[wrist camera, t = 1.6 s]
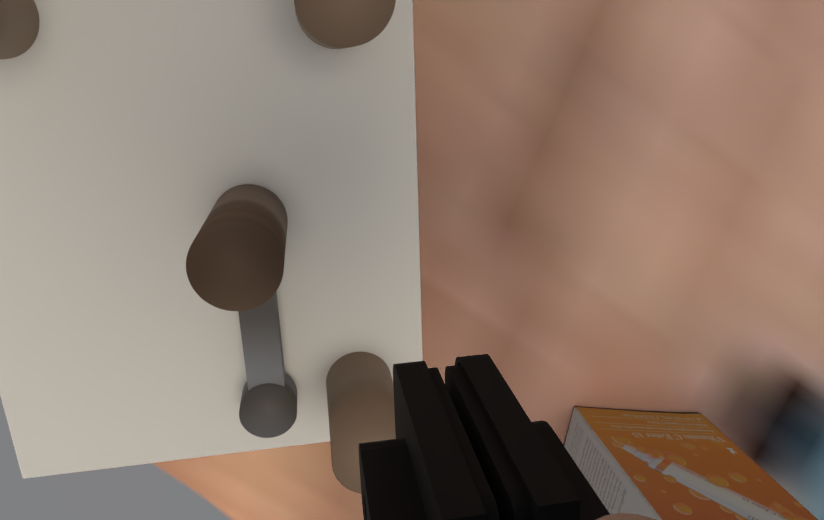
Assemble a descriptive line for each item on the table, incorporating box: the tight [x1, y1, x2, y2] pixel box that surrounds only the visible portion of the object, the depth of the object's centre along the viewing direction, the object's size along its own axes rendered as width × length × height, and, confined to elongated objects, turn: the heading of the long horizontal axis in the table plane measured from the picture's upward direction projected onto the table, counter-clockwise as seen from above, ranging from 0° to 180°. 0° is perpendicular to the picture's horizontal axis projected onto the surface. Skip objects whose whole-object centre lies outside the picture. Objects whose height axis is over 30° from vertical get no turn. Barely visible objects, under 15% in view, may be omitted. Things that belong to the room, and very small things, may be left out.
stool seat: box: [0, 0, 423, 493], centre depth 24 cm, size 22×18×8 cm
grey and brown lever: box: [186, 184, 297, 438], centre depth 24 cm, size 11×3×6 cm, turn 2°
